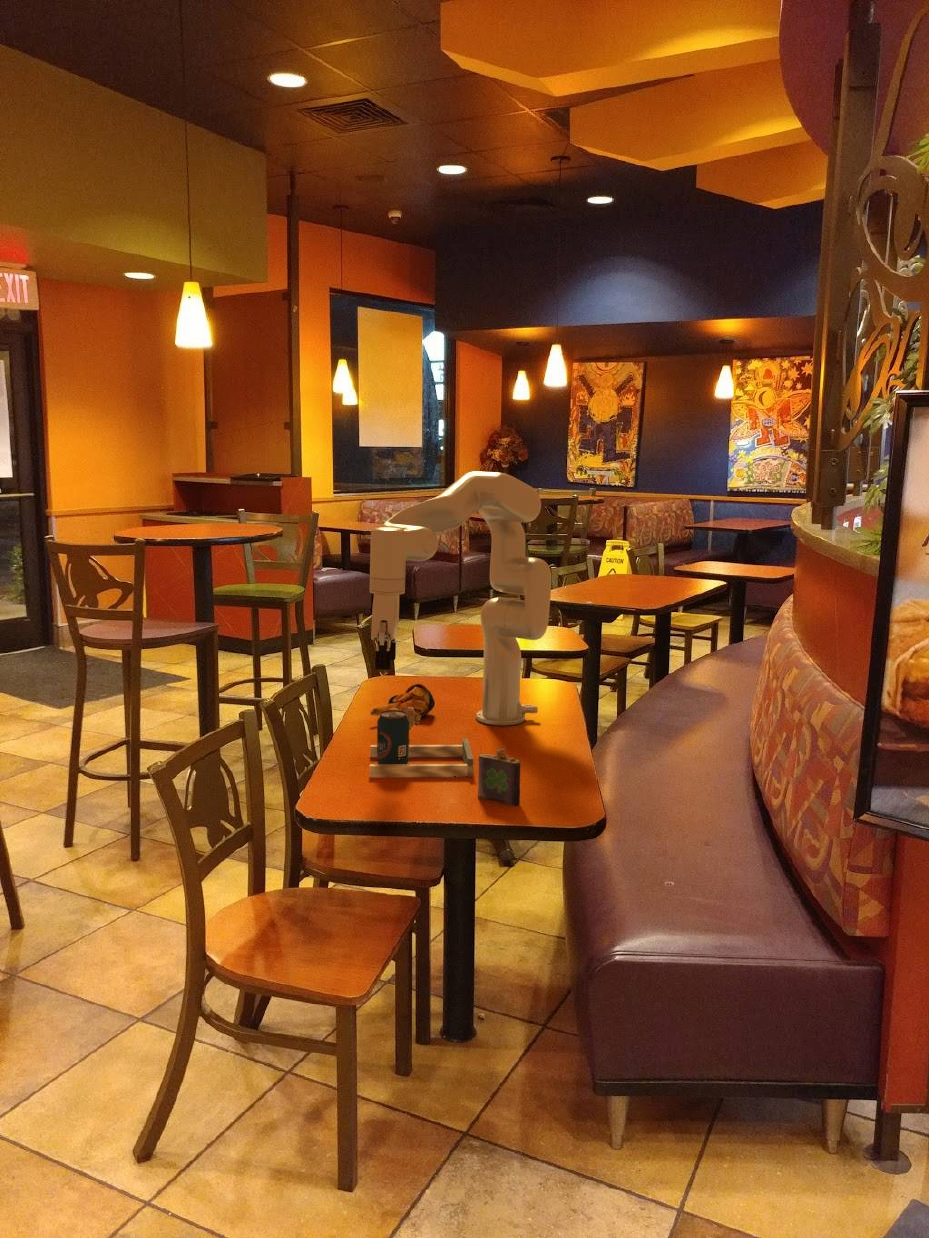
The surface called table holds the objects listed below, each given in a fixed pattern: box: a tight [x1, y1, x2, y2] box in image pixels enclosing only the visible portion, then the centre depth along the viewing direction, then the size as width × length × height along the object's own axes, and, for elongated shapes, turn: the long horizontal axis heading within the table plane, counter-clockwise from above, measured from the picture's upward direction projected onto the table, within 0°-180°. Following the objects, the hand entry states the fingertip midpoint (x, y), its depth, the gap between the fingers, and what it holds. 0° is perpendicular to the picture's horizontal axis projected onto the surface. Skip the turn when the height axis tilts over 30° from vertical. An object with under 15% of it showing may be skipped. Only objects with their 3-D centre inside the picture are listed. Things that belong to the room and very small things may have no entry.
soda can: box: [376, 710, 410, 764], centre depth 212 cm, size 7×7×12 cm
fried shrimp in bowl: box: [370, 683, 436, 718], centre depth 249 cm, size 9×11×18 cm
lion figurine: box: [389, 707, 422, 742], centre depth 233 cm, size 15×5×9 cm, turn 34°
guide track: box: [368, 737, 474, 779], centre depth 214 cm, size 22×14×4 cm, turn 95°
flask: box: [477, 748, 521, 807], centre depth 194 cm, size 9×3×11 cm, turn 59°
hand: (385, 664), depth 210 cm, fingers open, 9 cm apart
